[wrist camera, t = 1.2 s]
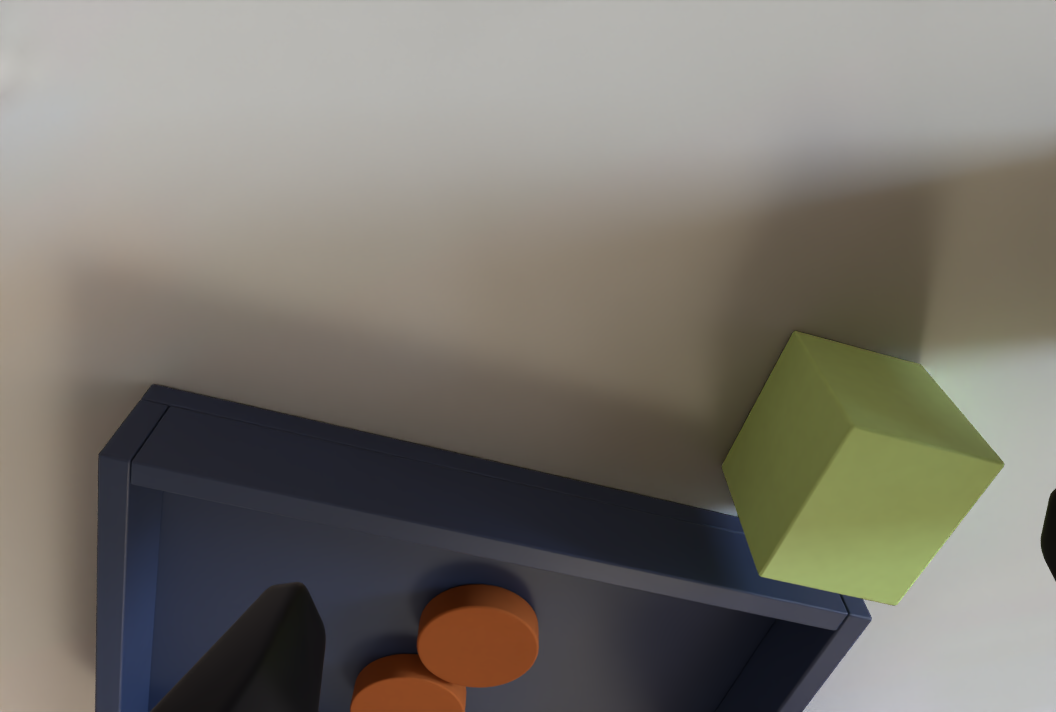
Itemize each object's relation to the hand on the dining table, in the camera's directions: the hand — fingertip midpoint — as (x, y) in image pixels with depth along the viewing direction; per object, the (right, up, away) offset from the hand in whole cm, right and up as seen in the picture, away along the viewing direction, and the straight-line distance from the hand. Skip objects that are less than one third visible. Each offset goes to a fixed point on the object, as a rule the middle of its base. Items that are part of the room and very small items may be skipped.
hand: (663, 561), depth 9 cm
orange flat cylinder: (-3, -7, +17) cm, 18 cm away
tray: (-4, -7, +18) cm, 20 cm away
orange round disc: (-6, -10, +18) cm, 22 cm away
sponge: (+7, +1, +13) cm, 15 cm away
